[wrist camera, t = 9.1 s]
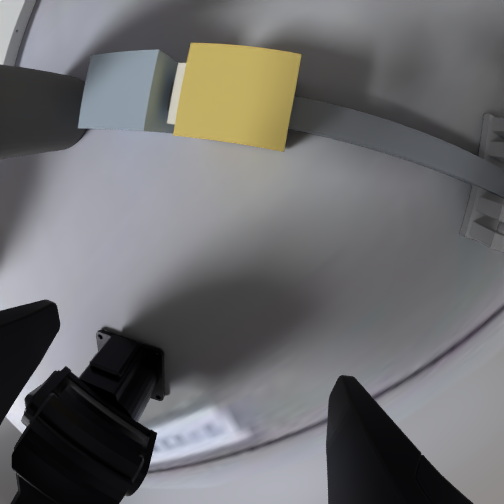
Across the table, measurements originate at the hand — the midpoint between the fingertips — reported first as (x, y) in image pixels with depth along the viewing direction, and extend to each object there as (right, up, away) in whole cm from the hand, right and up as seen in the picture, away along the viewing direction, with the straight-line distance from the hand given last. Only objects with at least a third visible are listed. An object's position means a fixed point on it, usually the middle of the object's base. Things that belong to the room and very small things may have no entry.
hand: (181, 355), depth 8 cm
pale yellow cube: (+2, +12, +9) cm, 14 cm away
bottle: (-12, +13, +10) cm, 21 cm away
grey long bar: (+7, +11, +8) cm, 15 cm away
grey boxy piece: (+19, +8, +8) cm, 22 cm away
